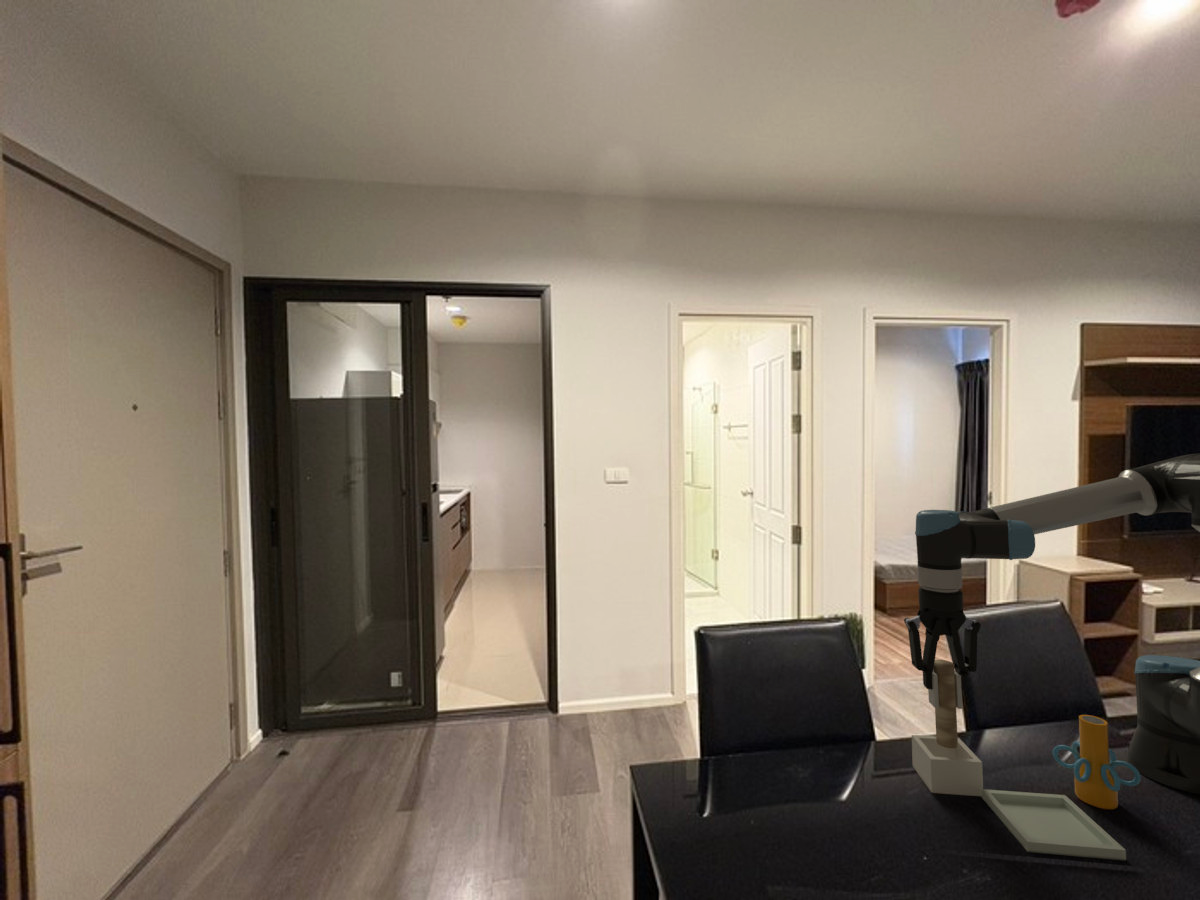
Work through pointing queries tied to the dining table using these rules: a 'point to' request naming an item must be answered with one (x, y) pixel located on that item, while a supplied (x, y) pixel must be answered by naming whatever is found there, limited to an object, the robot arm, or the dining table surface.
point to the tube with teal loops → (1095, 765)
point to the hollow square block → (947, 767)
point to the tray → (1052, 825)
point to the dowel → (946, 705)
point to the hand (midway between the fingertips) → (945, 705)
